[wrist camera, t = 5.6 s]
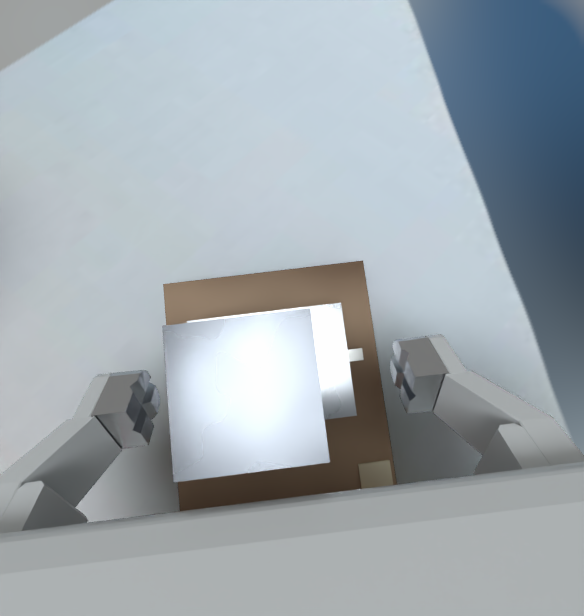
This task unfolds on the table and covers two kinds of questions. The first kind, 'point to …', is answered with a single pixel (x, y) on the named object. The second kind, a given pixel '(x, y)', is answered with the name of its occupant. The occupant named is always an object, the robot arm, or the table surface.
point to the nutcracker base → (340, 431)
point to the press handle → (256, 390)
